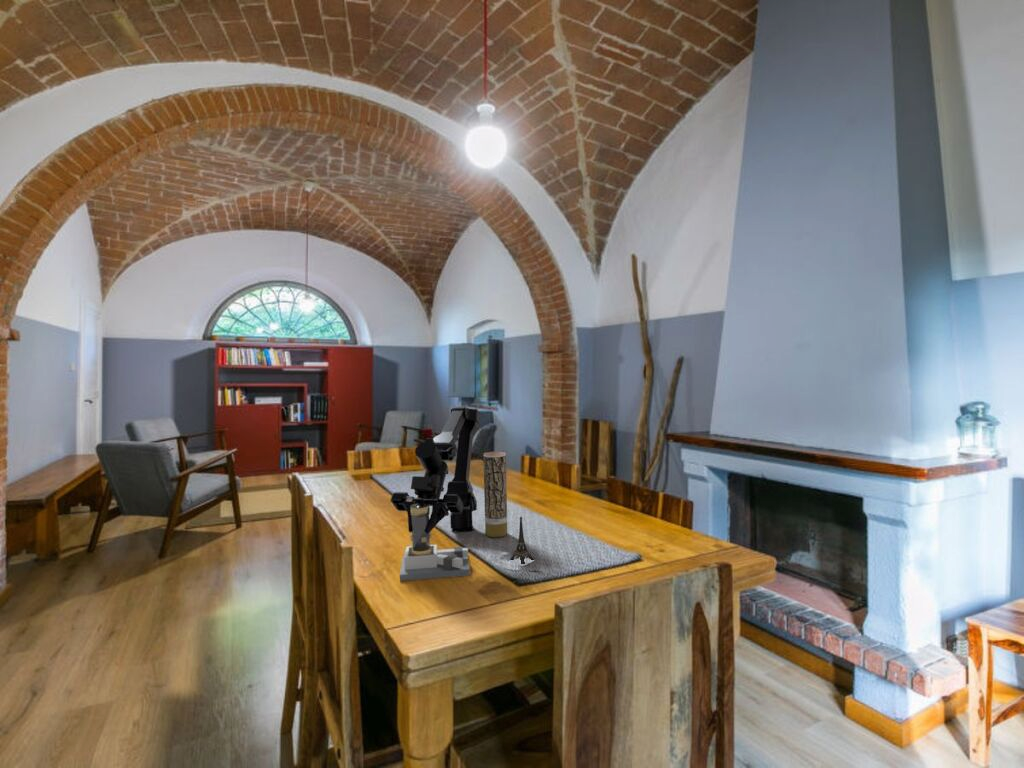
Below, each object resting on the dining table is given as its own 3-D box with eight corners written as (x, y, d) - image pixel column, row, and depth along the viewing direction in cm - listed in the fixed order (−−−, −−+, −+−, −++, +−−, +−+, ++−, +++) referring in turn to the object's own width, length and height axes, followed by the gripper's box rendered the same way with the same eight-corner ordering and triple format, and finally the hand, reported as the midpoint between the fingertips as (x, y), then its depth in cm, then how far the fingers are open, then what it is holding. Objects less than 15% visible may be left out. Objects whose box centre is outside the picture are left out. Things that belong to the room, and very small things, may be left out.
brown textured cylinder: (504, 538, 152) (503, 455, 151) (482, 537, 153) (480, 455, 153) (509, 531, 159) (507, 451, 158) (488, 530, 160) (486, 451, 159)
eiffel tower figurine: (499, 553, 142) (498, 505, 141) (536, 551, 143) (535, 504, 142) (501, 575, 127) (500, 522, 126) (542, 573, 128) (541, 520, 127)
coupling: (428, 550, 135) (426, 502, 134) (434, 557, 130) (433, 506, 130) (408, 554, 132) (407, 505, 132) (414, 561, 128) (413, 509, 127)
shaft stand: (466, 554, 140) (466, 538, 140) (470, 576, 125) (469, 558, 125) (403, 559, 137) (403, 543, 137) (399, 582, 123) (399, 563, 123)
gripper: (392, 462, 136) (373, 515, 126) (458, 463, 132) (444, 518, 122) (406, 484, 144) (389, 535, 134) (468, 486, 140) (456, 540, 130)
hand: (418, 532), depth 130 cm, fingers closed on coupling, 4 cm apart
